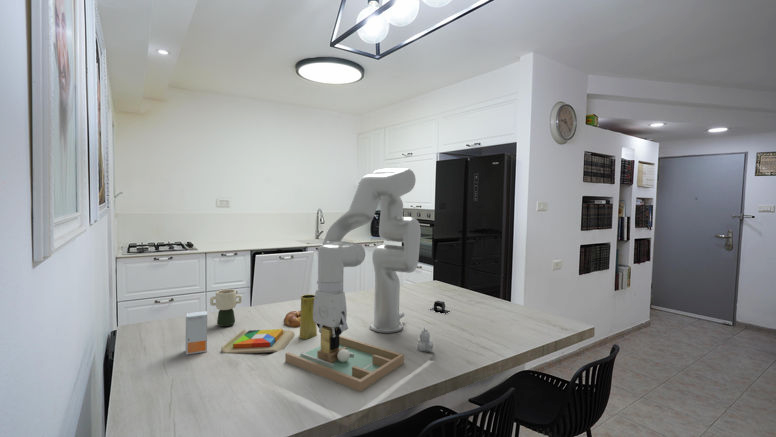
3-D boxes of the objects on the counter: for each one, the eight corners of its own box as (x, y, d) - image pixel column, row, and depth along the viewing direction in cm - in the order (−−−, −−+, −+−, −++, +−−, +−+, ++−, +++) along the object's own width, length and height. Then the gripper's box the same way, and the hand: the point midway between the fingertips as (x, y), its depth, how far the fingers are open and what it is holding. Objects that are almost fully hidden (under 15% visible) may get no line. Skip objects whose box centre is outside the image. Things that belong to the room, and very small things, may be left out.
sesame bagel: (307, 328, 137) (307, 319, 137) (278, 327, 138) (278, 318, 138) (314, 318, 149) (315, 309, 149) (288, 317, 150) (288, 308, 150)
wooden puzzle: (243, 334, 131) (243, 324, 131) (295, 335, 130) (295, 326, 130) (219, 354, 114) (219, 343, 114) (279, 356, 113) (279, 345, 113)
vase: (312, 340, 125) (313, 299, 125) (296, 338, 127) (296, 297, 126) (319, 333, 131) (320, 294, 131) (303, 332, 133) (304, 293, 132)
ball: (341, 355, 109) (344, 345, 108) (350, 362, 107) (353, 351, 106) (333, 359, 106) (336, 349, 105) (342, 366, 104) (345, 356, 103)
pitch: (333, 344, 122) (333, 333, 122) (403, 366, 106) (404, 354, 106) (285, 365, 106) (285, 353, 106) (360, 396, 90) (360, 382, 90)
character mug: (241, 320, 144) (241, 288, 144) (241, 326, 138) (241, 292, 137) (210, 323, 140) (210, 290, 139) (209, 329, 133) (209, 294, 133)
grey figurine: (425, 347, 121) (425, 323, 121) (438, 354, 116) (439, 329, 115) (412, 350, 118) (413, 326, 118) (425, 358, 113) (426, 332, 112)
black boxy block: (455, 312, 161) (455, 302, 161) (448, 316, 155) (448, 306, 155) (430, 307, 168) (430, 297, 168) (422, 311, 162) (423, 301, 162)
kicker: (331, 350, 114) (332, 322, 113) (346, 355, 110) (346, 326, 110) (315, 358, 108) (315, 328, 107) (330, 363, 104) (330, 333, 104)
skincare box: (185, 355, 111) (185, 316, 111) (185, 350, 115) (185, 313, 115) (207, 352, 114) (207, 314, 114) (207, 347, 118) (207, 310, 117)
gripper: (302, 284, 110) (301, 344, 111) (342, 293, 100) (341, 358, 101) (320, 280, 116) (319, 337, 117) (360, 288, 106) (359, 350, 107)
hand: (329, 346), depth 109 cm, fingers closed on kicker, 3 cm apart
